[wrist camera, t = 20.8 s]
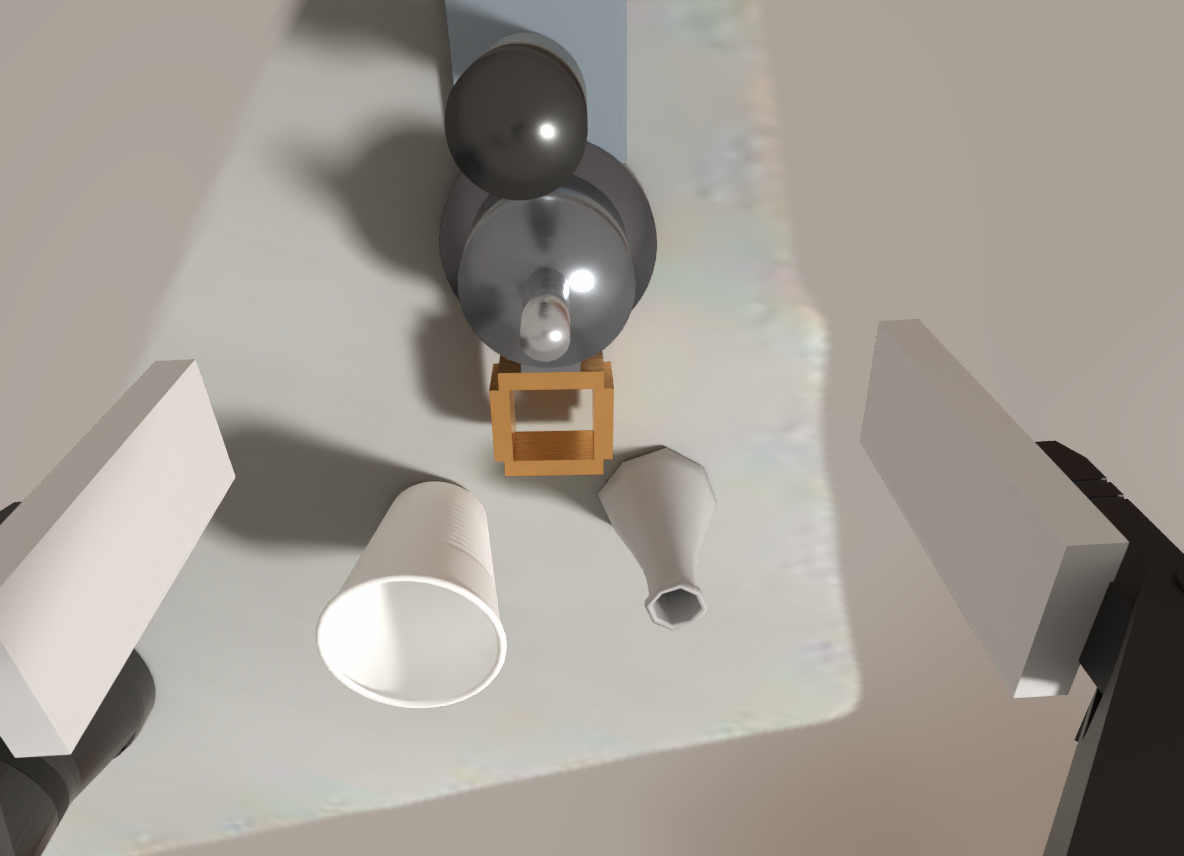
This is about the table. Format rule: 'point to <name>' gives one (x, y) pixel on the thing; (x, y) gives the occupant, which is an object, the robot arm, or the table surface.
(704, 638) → the table surface
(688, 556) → the flask
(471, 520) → the cup
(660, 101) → the table surface
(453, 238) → the dark grey disc
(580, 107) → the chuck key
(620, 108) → the key mat
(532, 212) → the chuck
